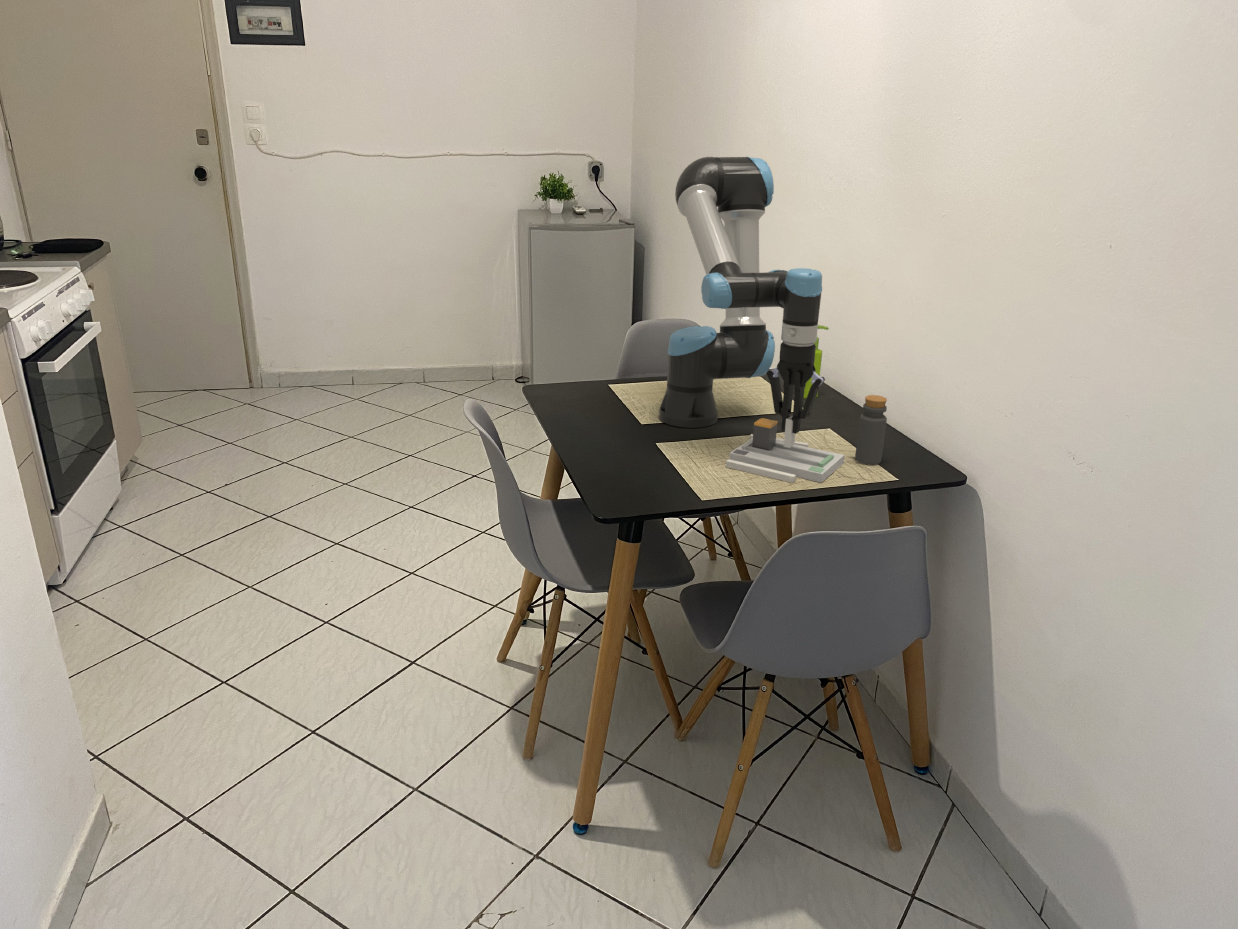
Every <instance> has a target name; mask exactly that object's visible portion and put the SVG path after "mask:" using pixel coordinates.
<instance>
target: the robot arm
mask: <svg viewBox="0 0 1238 929" xmlns="http://www.w3.org/2000/svg"><path fill="white" fill-rule="evenodd" d="M773 177H774V176H773V173H772V170H771V167H770V165H769V164H768V163H767V161H766V160H764V159H763V158H759V157H749V156H723V157H722V156H718V157H717V156H716V157H714V156H705V157H701V158H700V157H699V158H697V159H696V160H694V161H692V162H691V163H689V164H688V165H687V166H686V167H685V168H684V169H683V170H682V172H681V173H680V175H679V177H678V180H677V182H676V186H675V194H674V195H675V197H674V198H675V202H676V205H677V208H678V210H679V211H678V212H680V214H681V215H682V216H684V217H685V218H686V219H685V220H687V224H688V227H689V229H690V231H691V234H692V238H693V240H694V243H695V245H696V246H695V248H696V250H697V253H698V256H699V258H700V262H701V264H702V267H703V268H704V269H703V270H704V271H705V275H704V276H703V278H702V281H701V287H700V288H701V289H700V290H701V292H700V293H701V299H702V302H703V305H705V306H706V307H707V308H709V309H721V310H725V319H724V320H723V321H722V322H721V323H720V325H719V332H717V330H716V329H715V328H714V327H712V326H708V325H703V326H701V325H695V326H687V327H683V328H680V329H677V330H676V331H674V332H672V333H671V334H670V337H669V342H668V347H667V375H666V376H667V377H666V378H667V379H666V382H667V383H666V390H665V393H664V396H663V398H662V401H661V403H660V407H659V408H658V409H659V410H658V412H659V413H658V418H659V420H660V421H661V422H662V423H664V424H666V425H669V426H673V427H678V428H688V429H692V428H693V429H695V428H696V429H697V428H705V427H709V426H712V425H714V424H716V423H717V422H718V418H719V416H718V415H719V412H718V411H719V410H718V408H717V404H716V400H715V397H714V391H713V390H714V389H713V388H714V385H713V384H714V380H719V379H720V380H722V379H725V380H727V379H743V378H744V379H750V378H759V377H763V376H765V375H766V376H767V378H768V380H769V383H770V384H769V385H770V390H771V397H772V404H773V410H774V413H775V414H776V415H780V416H781V418H782V419H781V431H782V432H784V438H783V439H784V447H788V448H790V447H792V446H793V445H795V441H796V435H797V434H798V433H799V432H800V431H801V424H802V423H801V421H802V420H804V419H807V418H808V417H809V416H810V415H811V413H812V409H813V406H814V404H815V401H816V396H817V393H818V394H819V390H820V387H821V386H822V385H823V383H824V382H825V380H826V378H825V377H824V376H821V375H820V376H819V375H818V374H817V373H815V371H816V370H815V367H814V360H815V351H816V346H815V344H814V343H815V342H816V341H817V337H818V330H819V329H818V325H819V317H820V306H821V299H822V293H823V274H822V272H821V271H820V270H817V269H812V268H804V267H803V268H802V267H801V268H799V267H797V268H792V269H789V270H784V269H772V270H770V271H768V272H767V271H766V272H760V225H759V224H760V219H761V218H762V217H763V216H764V215H765V214H766V207H768V206H769V205H771V203H772V201H773V198H774V197H773V195H774V192H775V190H774V189H775V187H774V186H775V185H774V178H773ZM778 307H779V308H781V309H783V310H782V312H783V313H782V325H781V333H780V334H781V336H780V339H781V341H782V342H781V343H780V347H779V361H778V363H777V365H776V367H775V368H771V367H772V365H773V362H774V358H775V353H776V352H775V351H776V343H775V342H776V341H775V340H774V335H773V333H772V332H771V331H770V330H767V326H766V325H767V323H766V322H765V321H764V320H763V319H762V318H761V316H760V314H761V308H778ZM770 368H771V369H770ZM780 376H781V379H782V381H783V393H782V386H781V379H780ZM811 377H812V381H811V383H812V386H811V387H810V390H809V393H808V396H807V398H806V399H805V398H804V389H805V386H806V383H807V381H808V380H809V379H810V378H811ZM793 396H794V397H793ZM804 399H805V402H804ZM792 406H793V407H792Z"/></svg>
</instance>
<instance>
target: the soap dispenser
mask: <svg viewBox="0 0 1238 929" xmlns="http://www.w3.org/2000/svg"><path fill="white" fill-rule="evenodd" d="M818 330H825V331H828V330H830V328H829V327H828V326H825V325H820V324H818ZM819 341H820V338H819V337H818V336H817V341H816V342H815V343H814V344H815V346H816V351H815V360H814V367H815V370H816V371H815V373H817V374H818V375H819V376H820V377H821V368H822V358H823V350H822V349H820V348H819V343H820V342H819ZM811 381H812V377H811V378H810V379H809V380H808V381H807V383H806V386H805V389H804V399H805V398H807V396H808V393H809V390H810V387H811V386H812V383H811ZM818 395H819V392H818V393H817V396H816V397H817V398H818Z"/></svg>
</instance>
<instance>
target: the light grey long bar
mask: <svg viewBox="0 0 1238 929" xmlns="http://www.w3.org/2000/svg"><path fill="white" fill-rule="evenodd" d="M725 468H729V469H732V470H733V469H734V470H737V471H742V472H746V473H750V474H753V475H757V476H761V477H767V478H769V479H774V480H780V481H783V482H788V483H791V484H793V483H795V482H796V479H797V477H796V475H794V474H790V473H786V472H781V471H777V470H773V469H768V468H764V467H760V466H756V465H751V464H747V463H743V462H739V461H734V460H730V459H729V458H728V459H727V460H726V461H725Z"/></svg>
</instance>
